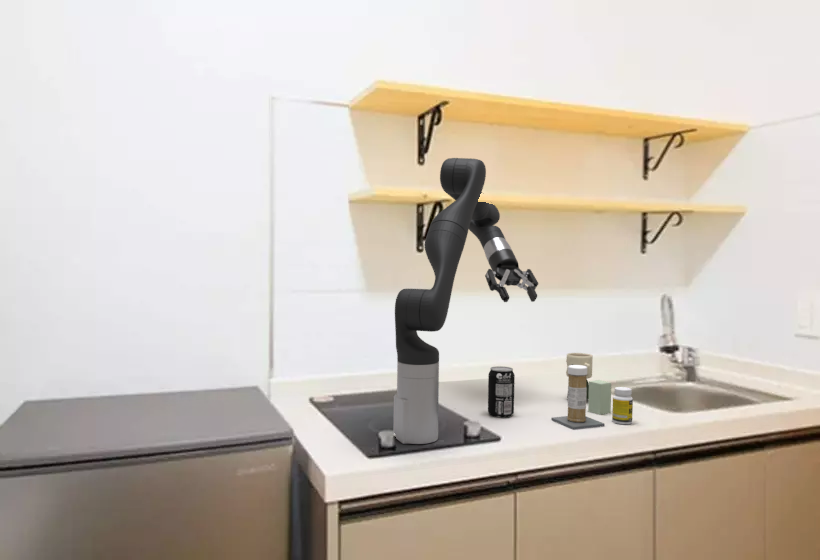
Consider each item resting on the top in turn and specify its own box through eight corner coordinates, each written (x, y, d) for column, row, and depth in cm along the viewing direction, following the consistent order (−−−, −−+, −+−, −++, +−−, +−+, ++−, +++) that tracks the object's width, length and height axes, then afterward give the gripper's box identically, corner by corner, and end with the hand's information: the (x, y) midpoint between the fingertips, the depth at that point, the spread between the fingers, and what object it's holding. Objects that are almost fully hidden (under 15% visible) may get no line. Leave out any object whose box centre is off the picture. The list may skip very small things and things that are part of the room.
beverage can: (496, 410, 169) (497, 365, 168) (518, 414, 164) (519, 368, 164) (482, 415, 164) (483, 368, 163) (505, 419, 159) (506, 371, 159)
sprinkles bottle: (582, 418, 160) (583, 364, 159) (588, 422, 155) (590, 367, 154) (564, 418, 159) (565, 364, 159) (570, 423, 155) (571, 367, 154)
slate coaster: (573, 429, 151) (573, 427, 151) (551, 419, 160) (551, 417, 160) (604, 426, 155) (604, 423, 155) (581, 416, 163) (581, 414, 163)
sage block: (599, 414, 165) (600, 384, 165) (588, 411, 169) (588, 381, 168) (610, 413, 167) (611, 382, 167) (598, 409, 171) (599, 379, 170)
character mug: (557, 396, 186) (558, 351, 185) (580, 395, 187) (581, 351, 187) (576, 405, 175) (577, 358, 174) (600, 404, 177) (601, 357, 176)
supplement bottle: (632, 425, 155) (632, 391, 155) (611, 423, 157) (612, 389, 157) (632, 420, 160) (633, 387, 159) (612, 418, 161) (613, 385, 161)
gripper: (483, 247, 178) (503, 291, 168) (527, 248, 184) (549, 290, 174) (473, 265, 184) (492, 309, 173) (517, 266, 189) (537, 308, 179)
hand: (520, 300), depth 173 cm, fingers open, 8 cm apart
